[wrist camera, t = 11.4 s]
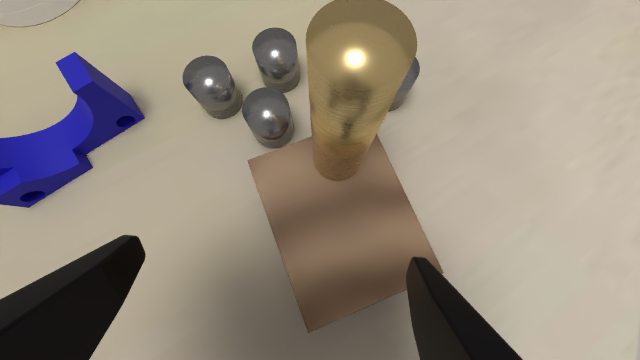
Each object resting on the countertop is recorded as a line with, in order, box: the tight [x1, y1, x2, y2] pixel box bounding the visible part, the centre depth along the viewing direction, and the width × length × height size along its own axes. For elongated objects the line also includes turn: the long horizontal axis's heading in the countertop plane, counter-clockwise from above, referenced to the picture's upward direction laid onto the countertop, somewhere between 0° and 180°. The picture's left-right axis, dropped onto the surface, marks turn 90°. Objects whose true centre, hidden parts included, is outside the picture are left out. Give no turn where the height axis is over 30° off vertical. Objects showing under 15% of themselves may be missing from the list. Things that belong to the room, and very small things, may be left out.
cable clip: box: [0, 52, 145, 208], centre depth 21 cm, size 12×4×6 cm, turn 127°
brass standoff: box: [306, 0, 417, 181], centre depth 16 cm, size 4×4×13 cm
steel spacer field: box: [183, 28, 420, 148], centre depth 23 cm, size 9×18×4 cm, turn 112°
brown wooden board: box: [248, 134, 443, 333], centre depth 22 cm, size 14×11×2 cm
